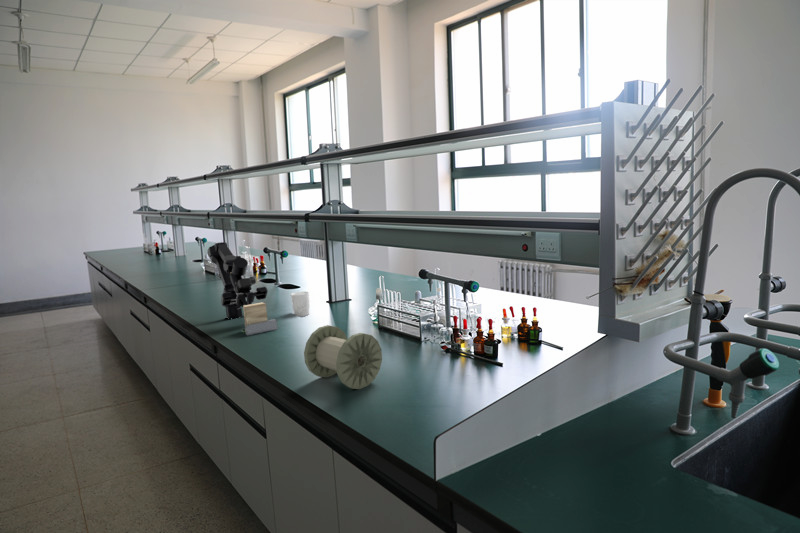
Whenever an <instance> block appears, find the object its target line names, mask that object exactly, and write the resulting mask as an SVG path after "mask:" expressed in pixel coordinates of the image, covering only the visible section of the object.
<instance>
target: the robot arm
mask: <svg viewBox="0 0 800 533" xmlns="http://www.w3.org/2000/svg"><path fill="white" fill-rule="evenodd" d="M207 256H208V258H209V260H210V261H211V263H213V264H215V265H216V267H217V271H218V274H219V276H220V278H221V279H220V280H221V282H222V285H223V290H222V294H221V297H220V304H221V307H224V308H225V312H226V317H228V318H229V319H228V320H231V318H232V320H235V319H236V318H237V319H240V318H239V317H241V318H243V317H242V316H243V315H244V314H243V310H242V309H243V306H244V305H250V304H253V303H254V301H255V299H256V300H259V301H260V300H264V299H267V294H268V292H269V290H268V288H267V287H266V286H258V287H256V289H255V290H254V291H251V290H252V286H253V285H255V284H256V283H257V281H256V277H255V276H254V275H253V276H252V275H251V276H249V277H247V278H246V276H245V275H246V273H247V269H248V265H249V263H248V260H247V259H246V258H244V257H241V256H242V255H237V256H236V255H234V254H233V253H232V251H231V249H230V248H229V246H228V243H227V242H226V241H221V242H216V243H214V245H211V246H209V247H208V249H207Z"/></svg>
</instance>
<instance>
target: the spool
mask: <svg viewBox="0 0 800 533" xmlns="http://www.w3.org/2000/svg"><path fill="white" fill-rule="evenodd" d="M303 357H304V364H305V365H306V368H307V370H308V371H309V372H310V373H312V374H313V375H314V376H317V377H319V378H329V377H331V376H335V375H337V376H338V379H339V380H340V382H341V383H342V384H343V385H345V387H347V388H350V389H353V390H354V389H356V390H361V389H363V388H365V387H368V386H369V385H371V383H372V382H374V380H375V379H376V377H377V376H378V374H379V372H380V370H381V366H382V361H383V354H382V348H381V345H380V343H379V341H378V339H377V338H375V337H374V336H373V335H372V334H367V333H363V332H359V333H355V334H352V335H350V336H349V337H347V335H346V333H345V332H344V331H343V330H342V329H341V328H340V327H337V326H335V325H334V326H333V325H328V324H327V325H324V326H320V327H318V328H316V329H315V330H314V331H313V332H312V333H311V334H310V335H309V338H308V339H307V340H306V343H305V346H304V350H303Z"/></svg>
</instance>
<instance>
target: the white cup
mask: <svg viewBox="0 0 800 533" xmlns="http://www.w3.org/2000/svg"><path fill="white" fill-rule="evenodd" d="M290 298H291V303H292V310H293V314H294V316H297V317H300V318H301V317H306V316H309V315H310V292H309V291H296V292H295V291H294V292H292V293H291V294H290Z"/></svg>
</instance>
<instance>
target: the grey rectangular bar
mask: <svg viewBox="0 0 800 533" xmlns="http://www.w3.org/2000/svg"><path fill="white" fill-rule="evenodd" d="M277 322H278V321H277V319H275V318H272V319H267V320H266V321H261V322H256V323H251V324H246V325H245V324H244V329H245V332H244V333H245V335H246V336H253V335H257V334H261V333H266V332H271V331H276V330H278V323H277Z"/></svg>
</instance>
